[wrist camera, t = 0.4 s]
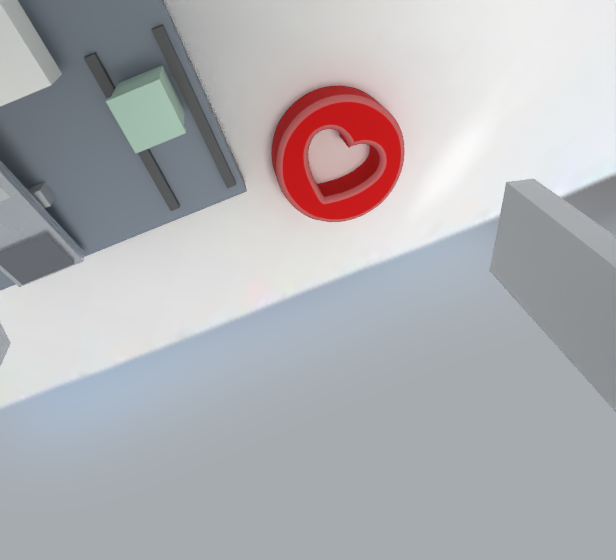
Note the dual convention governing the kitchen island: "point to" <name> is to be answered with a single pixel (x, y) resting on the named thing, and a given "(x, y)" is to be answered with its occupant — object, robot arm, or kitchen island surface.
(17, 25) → the button
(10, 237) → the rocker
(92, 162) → the panel
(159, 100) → the pale green block
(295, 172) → the decorative ornament
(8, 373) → the kitchen island surface
